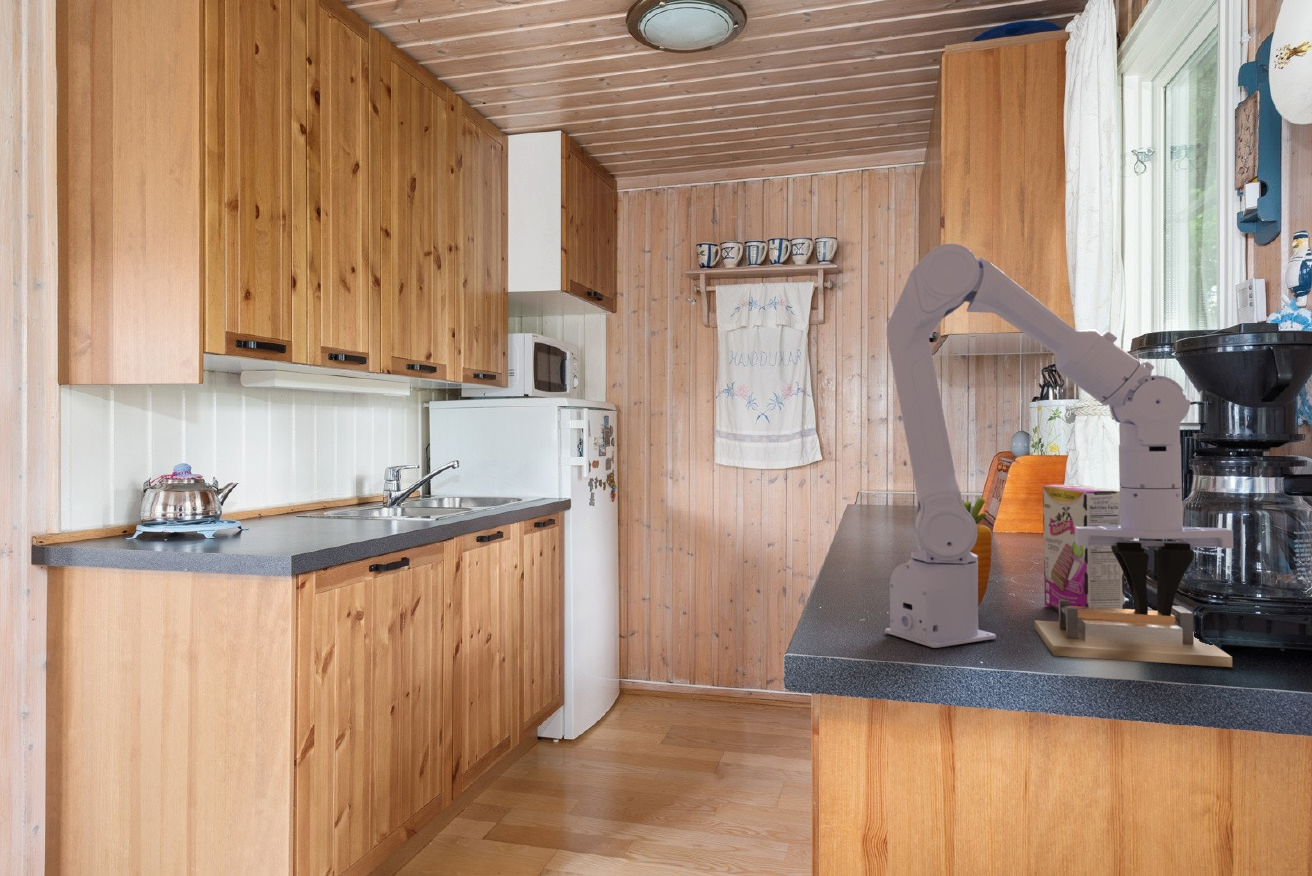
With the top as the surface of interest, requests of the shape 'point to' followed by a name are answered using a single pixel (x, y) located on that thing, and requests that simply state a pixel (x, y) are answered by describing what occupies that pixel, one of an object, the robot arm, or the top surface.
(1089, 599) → the candy bar box
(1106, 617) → the copper strap
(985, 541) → the carrot
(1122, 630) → the stone
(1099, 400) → the robot arm
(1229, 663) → the birch board
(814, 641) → the top surface
